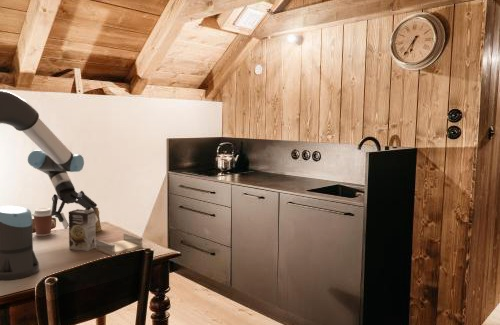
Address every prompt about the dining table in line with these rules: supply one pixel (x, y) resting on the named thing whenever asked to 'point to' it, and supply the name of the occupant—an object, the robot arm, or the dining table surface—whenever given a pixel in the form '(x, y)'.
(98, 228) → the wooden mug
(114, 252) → the shallow rail tray
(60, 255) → the dining table surface
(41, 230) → the coffee cup
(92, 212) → the coffee box
